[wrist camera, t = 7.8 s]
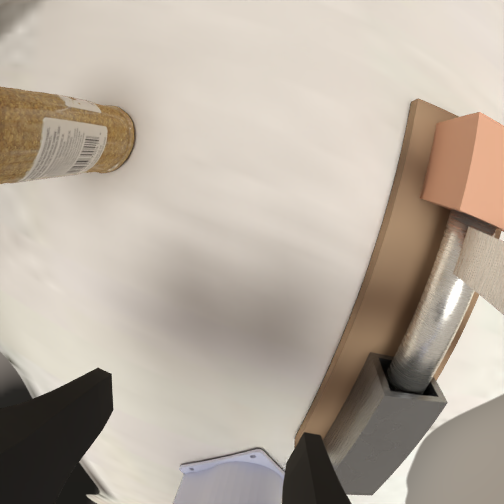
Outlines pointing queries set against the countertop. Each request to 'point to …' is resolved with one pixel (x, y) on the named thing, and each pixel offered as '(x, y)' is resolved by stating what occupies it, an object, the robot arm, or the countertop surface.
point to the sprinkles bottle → (59, 136)
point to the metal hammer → (448, 299)
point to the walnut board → (391, 273)
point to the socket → (468, 168)
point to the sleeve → (378, 427)
